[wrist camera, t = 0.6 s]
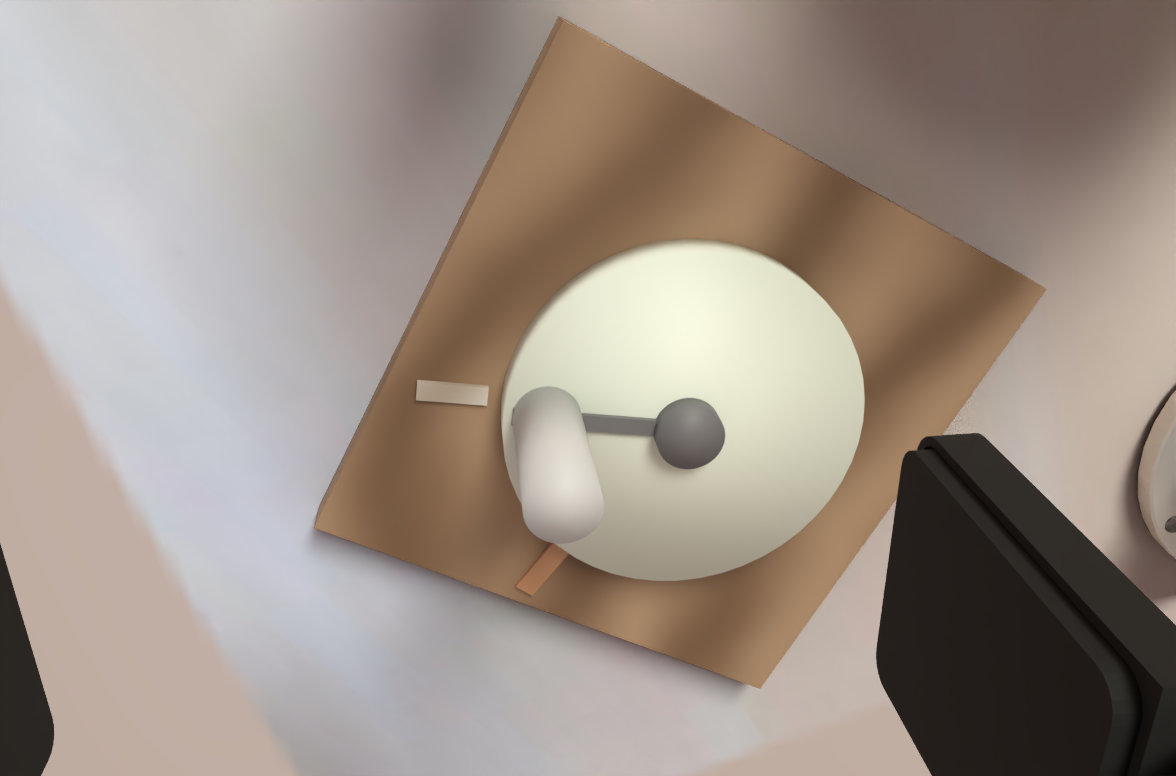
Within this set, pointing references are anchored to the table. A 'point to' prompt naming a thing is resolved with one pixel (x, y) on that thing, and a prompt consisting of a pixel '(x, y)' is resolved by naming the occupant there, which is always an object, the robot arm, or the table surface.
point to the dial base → (609, 226)
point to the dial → (680, 410)
